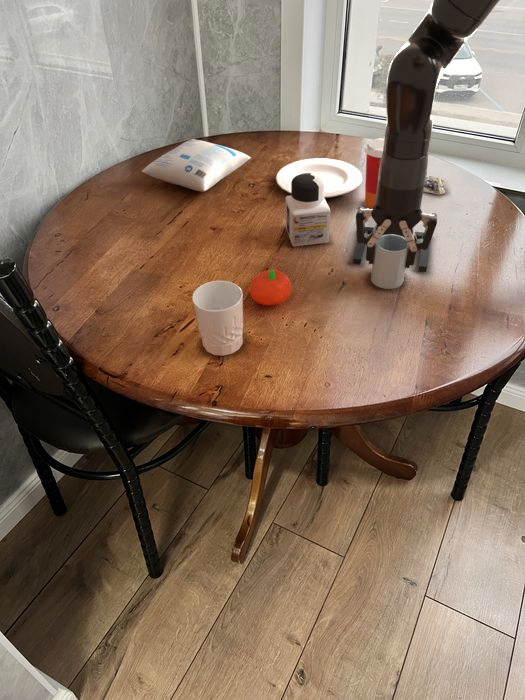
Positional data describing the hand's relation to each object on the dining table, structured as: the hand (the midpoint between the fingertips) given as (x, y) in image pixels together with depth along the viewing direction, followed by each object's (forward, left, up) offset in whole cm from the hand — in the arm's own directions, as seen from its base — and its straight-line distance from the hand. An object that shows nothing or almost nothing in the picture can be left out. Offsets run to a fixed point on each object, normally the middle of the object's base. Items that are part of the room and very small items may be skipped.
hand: (389, 263), depth 100 cm
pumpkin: (+20, +11, -4) cm, 23 cm away
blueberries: (-7, -39, -4) cm, 40 cm away
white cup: (+25, +24, -4) cm, 35 cm away
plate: (+20, -36, -4) cm, 42 cm away
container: (+18, -12, -4) cm, 22 cm away
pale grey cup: (0, 0, -4) cm, 4 cm away
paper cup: (+5, -28, -4) cm, 29 cm away
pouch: (+50, -33, -4) cm, 60 cm away
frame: (0, -9, -4) cm, 10 cm away
